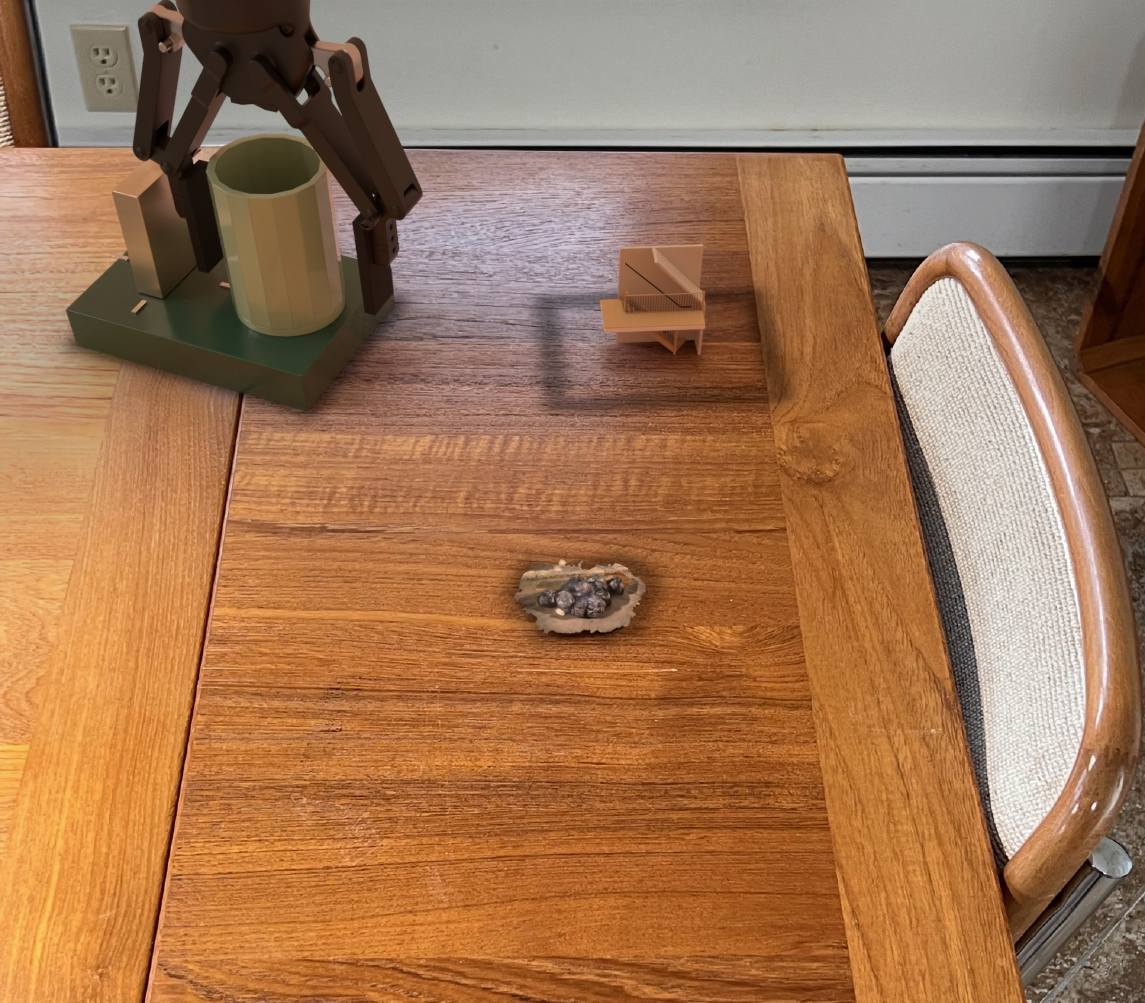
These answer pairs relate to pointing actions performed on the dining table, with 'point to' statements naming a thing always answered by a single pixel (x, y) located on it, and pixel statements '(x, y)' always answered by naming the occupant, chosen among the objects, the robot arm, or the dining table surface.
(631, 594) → the blueberries
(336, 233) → the cup
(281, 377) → the green base plate
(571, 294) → the dining table surface
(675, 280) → the architectural model
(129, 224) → the gold upright block
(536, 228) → the dining table surface
